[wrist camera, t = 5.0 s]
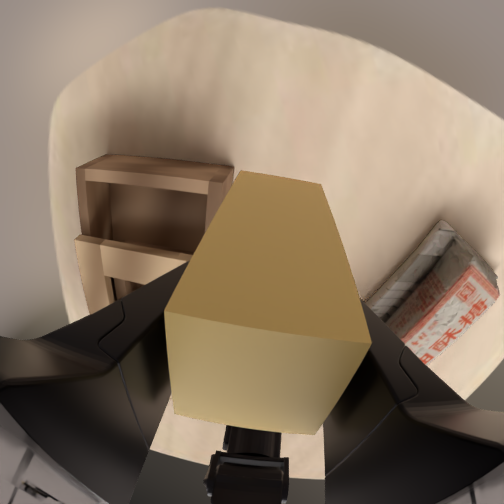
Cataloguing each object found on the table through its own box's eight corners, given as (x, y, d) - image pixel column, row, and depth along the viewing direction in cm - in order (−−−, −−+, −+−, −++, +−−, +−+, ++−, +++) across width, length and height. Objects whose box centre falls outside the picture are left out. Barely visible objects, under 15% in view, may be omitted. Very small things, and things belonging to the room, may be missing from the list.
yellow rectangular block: (321, 184, 13) (371, 343, 5) (304, 254, 14) (314, 434, 6) (240, 170, 13) (164, 310, 5) (231, 241, 14) (174, 413, 6)
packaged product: (466, 241, 16) (517, 299, 18) (437, 213, 20) (492, 269, 22) (308, 394, 24) (382, 417, 26) (307, 354, 29) (375, 382, 30)
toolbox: (234, 166, 20) (222, 183, 16) (215, 350, 29) (207, 381, 25) (106, 154, 20) (75, 168, 17) (123, 328, 29) (108, 355, 26)
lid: (215, 259, 19) (204, 285, 16) (207, 382, 25) (200, 407, 23) (80, 234, 19) (57, 253, 16) (107, 356, 25) (95, 377, 23)
